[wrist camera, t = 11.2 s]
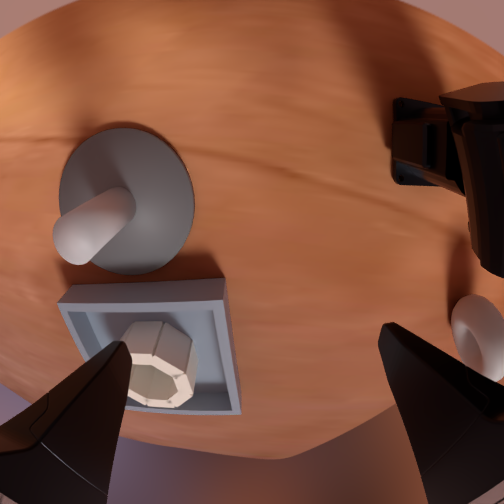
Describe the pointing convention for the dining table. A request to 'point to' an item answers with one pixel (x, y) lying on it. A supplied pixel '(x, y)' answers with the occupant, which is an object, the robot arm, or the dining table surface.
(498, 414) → the robot arm
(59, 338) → the dining table surface
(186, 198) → the stake
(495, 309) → the donut
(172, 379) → the ring
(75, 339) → the tray
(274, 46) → the dining table surface
